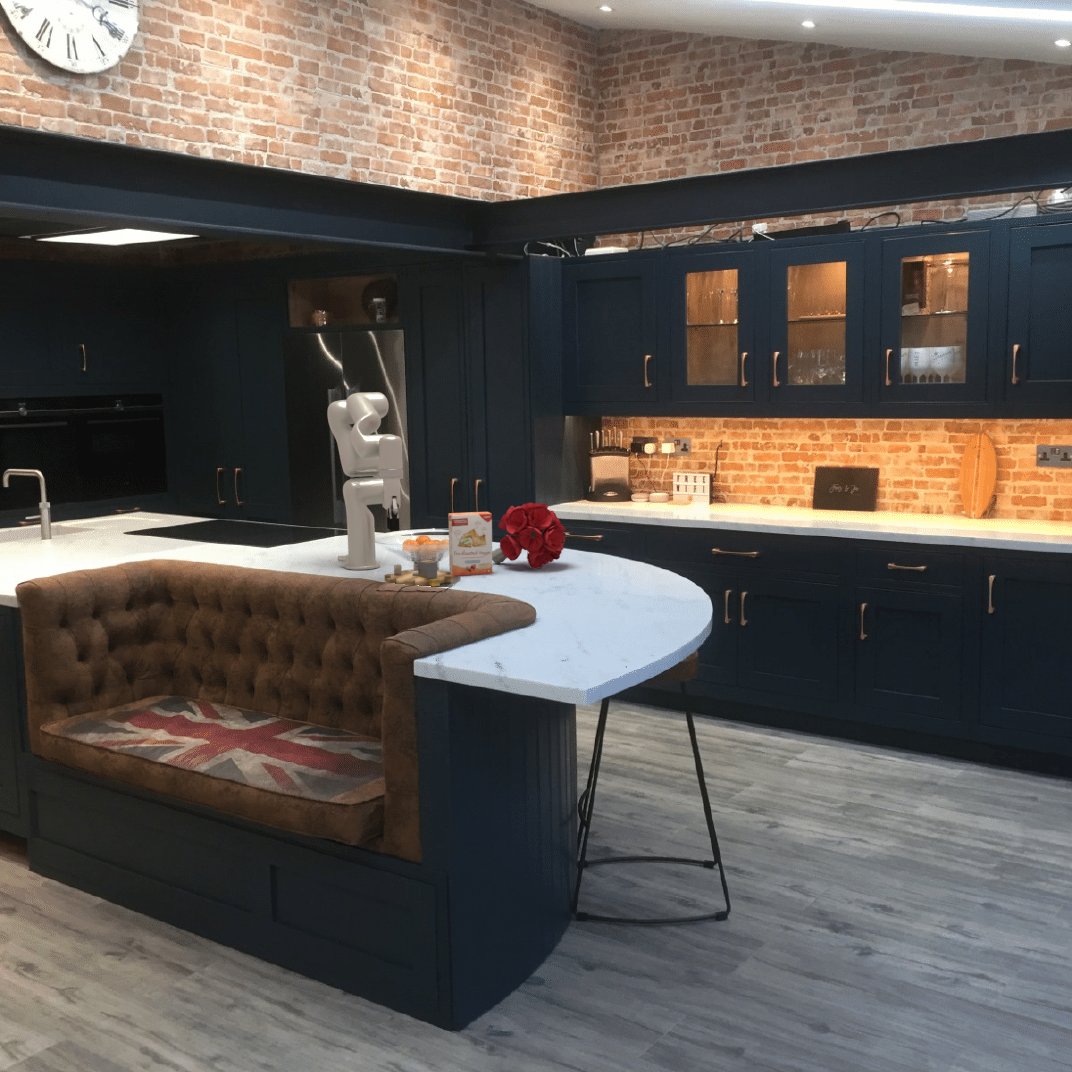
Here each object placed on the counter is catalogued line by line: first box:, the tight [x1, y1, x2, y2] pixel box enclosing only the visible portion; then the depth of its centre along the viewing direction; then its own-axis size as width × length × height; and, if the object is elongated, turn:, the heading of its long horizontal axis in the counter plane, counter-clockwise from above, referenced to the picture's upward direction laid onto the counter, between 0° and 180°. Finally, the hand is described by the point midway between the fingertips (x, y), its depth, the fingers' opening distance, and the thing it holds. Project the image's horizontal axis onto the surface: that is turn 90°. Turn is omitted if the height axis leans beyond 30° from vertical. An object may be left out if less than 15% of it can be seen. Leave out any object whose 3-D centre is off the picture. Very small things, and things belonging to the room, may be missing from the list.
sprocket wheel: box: [384, 564, 454, 587], centre depth 378 cm, size 22×22×5 cm
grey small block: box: [417, 559, 438, 579], centre depth 373 cm, size 6×4×5 cm, turn 34°
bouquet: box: [492, 502, 567, 570], centre depth 409 cm, size 22×24×30 cm
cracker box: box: [448, 511, 493, 577], centre depth 396 cm, size 14×6×21 cm, turn 105°
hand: (393, 529), depth 384 cm, fingers open, 4 cm apart
